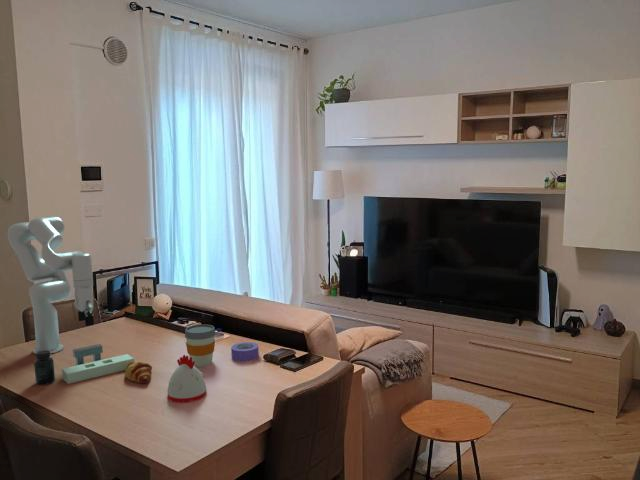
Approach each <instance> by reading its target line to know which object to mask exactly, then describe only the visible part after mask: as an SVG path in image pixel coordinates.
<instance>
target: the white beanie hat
mask: <svg viewBox="0 0 640 480" xmlns="http://www.w3.org/2000/svg"><path fill="white" fill-rule="evenodd" d="M176 361H177V365H178V366H177V368H176V367H175V370H174V371H173V373H172V374H171V376H170V379H169V381H168V387H167V399H168V400H169V401H171V402H173V403H178V404H179V403H180V404H183V403H185V404H186V403H191V402H192V403H193V402H195V401H200V400H201V399H203V398H205V396H207V393H208V392H207V386H206V382H205V375H204V373H203V372H202V371H200V370H199V369H198V367H196V366H194V363H195V361H193V362H192V357H190V358H189V355H185V354H184V355H182V356H180V357H179V358H178V359H177V360H176Z"/></svg>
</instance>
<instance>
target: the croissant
mask: <svg viewBox="0 0 640 480" xmlns="http://www.w3.org/2000/svg"><path fill="white" fill-rule="evenodd" d="M152 368H153V367H152V365H151V364H150V363H148V362H145V361H134V362H131V363H129V364H128V365H127V366H126V370H124V371H125V372H124V378H127V379H128V380H129V381H130V382H135V383H139V384H146V383H147V382H149V381H150V380H151V376H152V372H153V371H152V370H153V369H152Z"/></svg>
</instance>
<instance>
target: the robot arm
mask: <svg viewBox="0 0 640 480" xmlns="http://www.w3.org/2000/svg"><path fill="white" fill-rule="evenodd" d="M64 230H65V223H64V221H63V220H62V219H61V218H60V217H59V216H54V215H53V216H43V217H35V218H33V219H31V220H30V221H26V222H24V221H23V222H18V223H14V224H11V226H10V227H9V228H8V230H7V238H8V242H9V244H10V246H11V247H12V249H13V251H14V252H15V253H16V255H17V257H18V259H19V262H20V265H21V268H22V269H23V272H24V275H25V277H26V278H27V280H28V281H29V282H31V283H32V282H34V284H33V285H32V286H30V288H29V292H28V293H29V294H28V295H29V298H30V301H31V302H30V303H31V306H32V312H33V321H34V322H33V323H34V334H35V345H36V347H34V348H33V349H32V353H33V354H35V355H36V353H37V352H39V351H45V350H48V351H50V355H51V354H56V353H58V352H61V351H62V350H63V349H64V347H65V346H64V344H62V343H60V332H59V319H58V311H57V309H56V308H55V307H54V305H53V304H52V302H56V301H62V300H65V299H68V298H69V297H70V296H71V294H72V286H73V288H74V307H75V309H77V318H78V319H77V320H78V321H79V322H83V321H84V322H85V324H84V325H85V326H86V327H89V326H94V325H95V321H94V310H93V309H94V299H93V290H92V287H93V286H94V278H93V265H92V256H91V254H90V253H85V252H82V251H80V250H73V251H66V252H61V253H56V252H54V251H56V250H57V249H58V248H59V247H61V245H62V244H63V241H64V238H63V235H62V234H63V232H64ZM28 241H29V242H28ZM31 241H37V242H38V243H40V244H41V246H42V248H41V255H40V251H39V250H38V249H37V247H35V246H34V245H33V244H32V243H30V242H31ZM66 271H71V272H72V284H73V285H72V286H71V283H70V280H69V277H68V276H67V273H66ZM35 282H37V283H35Z"/></svg>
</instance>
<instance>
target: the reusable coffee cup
mask: <svg viewBox="0 0 640 480" xmlns="http://www.w3.org/2000/svg"><path fill="white" fill-rule="evenodd" d="M215 335H216V329H215V326H214V325H211V324H194V325H190V326H188V327H186V328H185V331H184V338H185V340H186V341H185V345H186V351H187V355H188V358H190V357H192V362H193V361H195V363H194V366H195V367H196V368H198V367H207V366H209V365H212V363H213V355H214V354H213V353H214V352H215V343H216V339H215Z"/></svg>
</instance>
